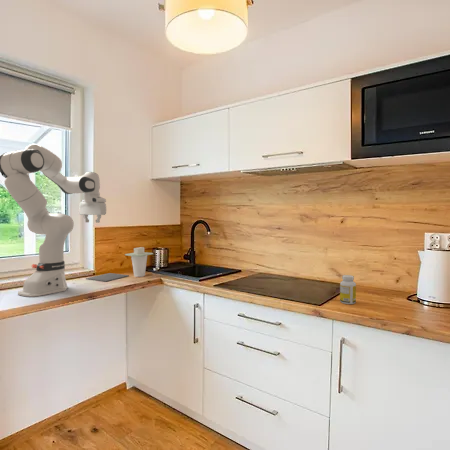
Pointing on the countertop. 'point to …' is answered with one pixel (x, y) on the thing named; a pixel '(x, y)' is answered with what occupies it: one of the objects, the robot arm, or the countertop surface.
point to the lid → (139, 252)
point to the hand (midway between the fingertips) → (92, 222)
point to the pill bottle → (348, 290)
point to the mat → (107, 277)
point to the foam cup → (139, 265)
